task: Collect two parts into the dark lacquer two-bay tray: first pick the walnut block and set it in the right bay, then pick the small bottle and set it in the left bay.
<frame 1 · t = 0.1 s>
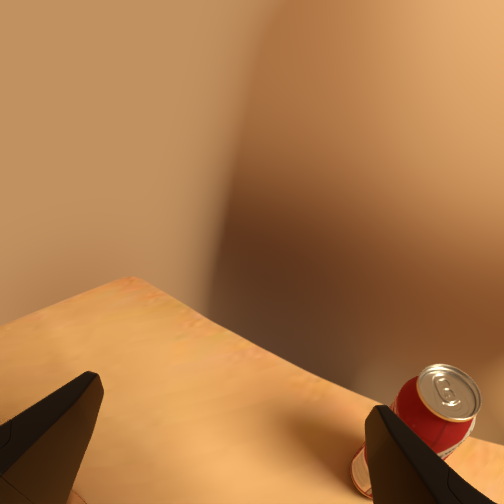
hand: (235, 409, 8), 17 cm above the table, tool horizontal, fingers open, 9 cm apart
soda can: (380, 474, 19), on the table
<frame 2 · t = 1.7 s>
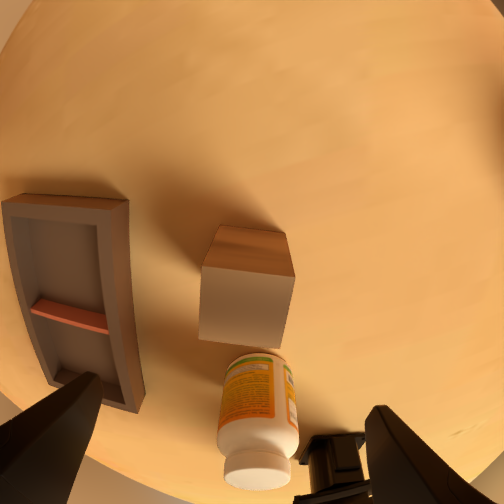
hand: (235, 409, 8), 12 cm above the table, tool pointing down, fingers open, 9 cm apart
supplement bottle: (259, 373, 23), on the table
walnut block: (248, 258, 19), on the table
tray: (80, 306, 21), on the table
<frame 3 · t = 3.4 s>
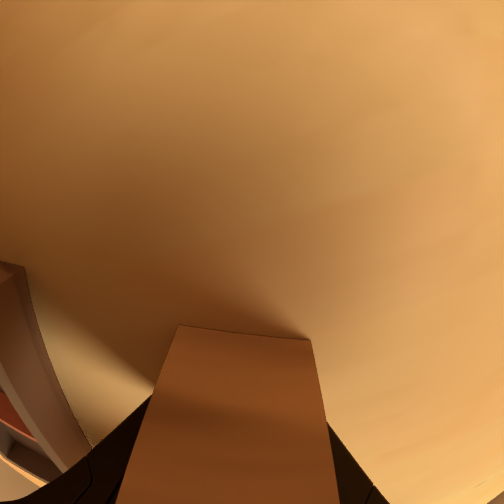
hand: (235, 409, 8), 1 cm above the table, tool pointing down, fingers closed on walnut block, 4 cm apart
walnut block: (238, 379, 9), on the table, touching gripper
tray: (12, 391, 11), on the table
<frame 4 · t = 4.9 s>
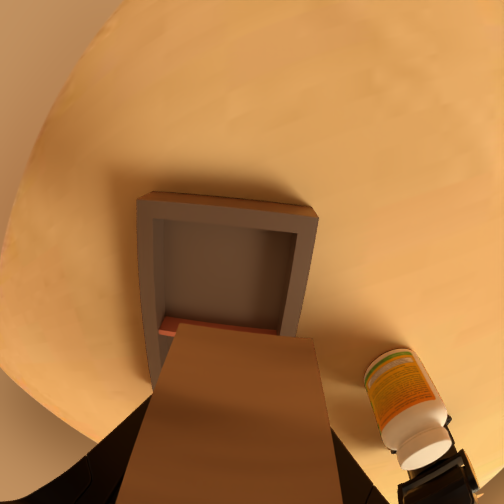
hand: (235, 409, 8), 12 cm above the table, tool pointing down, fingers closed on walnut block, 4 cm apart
supplement bottle: (390, 368, 23), on the table
walnut block: (239, 377, 9), point 11 cm above the table, touching gripper
tray: (221, 321, 21), on the table
when the fingers open (3 cm above the table, at t = 6.8 s): walnut block drops 2 cm, resting on tray.
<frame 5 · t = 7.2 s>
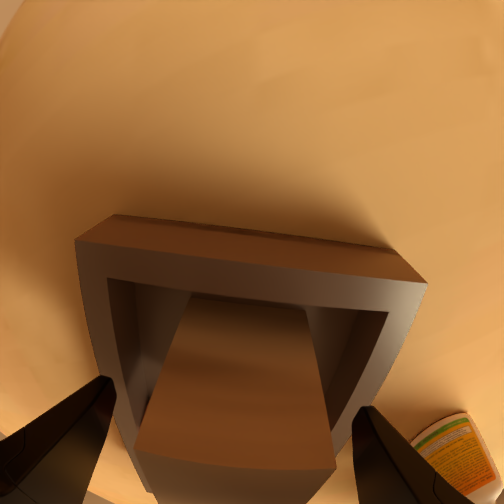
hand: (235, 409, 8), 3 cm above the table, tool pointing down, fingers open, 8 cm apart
supplement bottle: (437, 432, 15), on the table
walnut block: (242, 348, 11), point 1 cm above the table, touching tray
tray: (232, 407, 13), on the table
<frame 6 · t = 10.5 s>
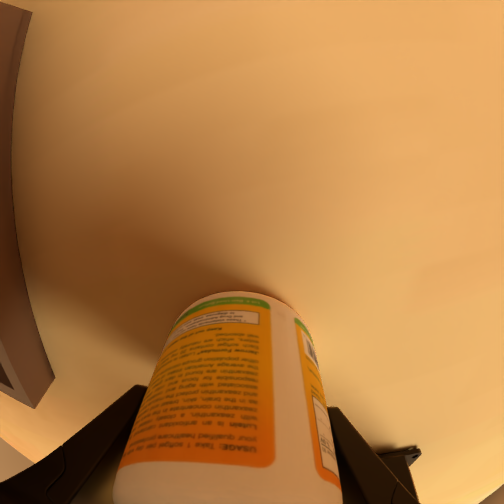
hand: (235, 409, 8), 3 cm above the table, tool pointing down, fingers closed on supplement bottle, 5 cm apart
supplement bottle: (241, 344, 11), on the table, touching gripper
when the fingers open (5 cm above the table, at t = 14.4 s): supplement bottle drops 1 cm, resting on tray.
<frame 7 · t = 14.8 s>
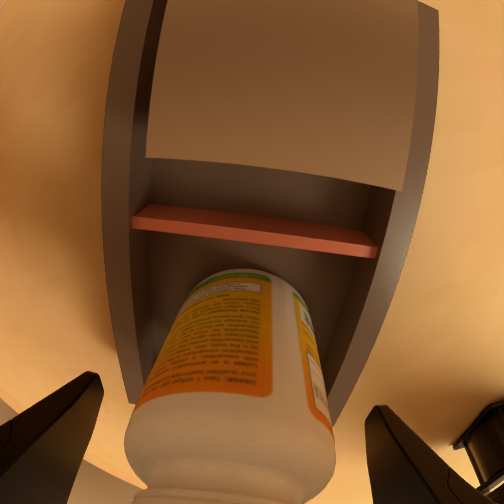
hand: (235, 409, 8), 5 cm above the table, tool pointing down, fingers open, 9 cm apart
supplement bottle: (245, 320, 12), resting on tray
walnut block: (275, 95, 9), point 1 cm above the table, touching tray
tray: (256, 217, 11), on the table
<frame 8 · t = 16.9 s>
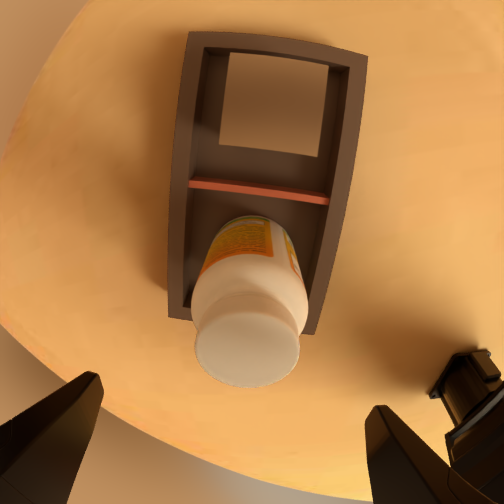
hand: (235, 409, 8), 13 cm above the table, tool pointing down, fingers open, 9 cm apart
supplement bottle: (252, 252, 20), resting on tray
walnut block: (270, 113, 16), point 1 cm above the table, touching tray
tray: (259, 185, 18), on the table
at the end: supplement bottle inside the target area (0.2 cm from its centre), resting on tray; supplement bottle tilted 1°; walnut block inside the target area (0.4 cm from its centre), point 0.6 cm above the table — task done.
